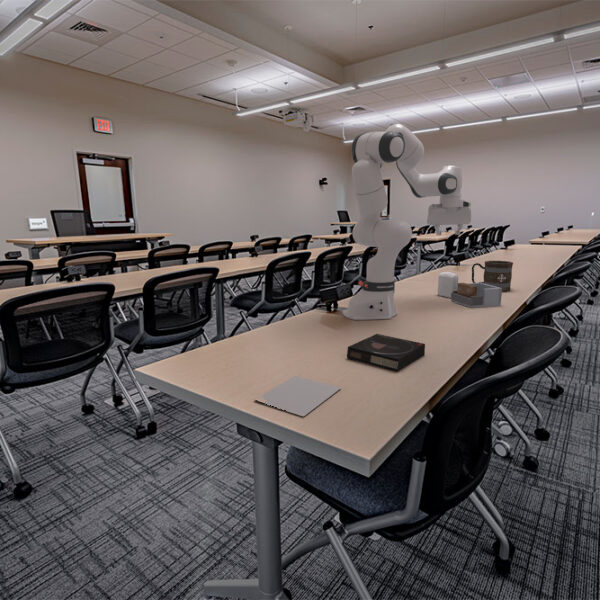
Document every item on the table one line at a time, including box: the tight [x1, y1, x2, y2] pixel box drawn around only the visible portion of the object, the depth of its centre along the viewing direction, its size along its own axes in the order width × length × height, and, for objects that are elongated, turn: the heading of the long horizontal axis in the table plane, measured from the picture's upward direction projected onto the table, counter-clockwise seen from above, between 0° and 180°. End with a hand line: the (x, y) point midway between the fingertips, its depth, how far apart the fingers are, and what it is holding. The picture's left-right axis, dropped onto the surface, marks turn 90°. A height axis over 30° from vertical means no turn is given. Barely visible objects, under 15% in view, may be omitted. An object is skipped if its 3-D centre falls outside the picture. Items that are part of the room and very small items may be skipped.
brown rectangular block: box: [457, 282, 477, 298], centre depth 183 cm, size 3×10×8 cm, turn 13°
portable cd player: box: [346, 333, 426, 373], centre depth 120 cm, size 16×17×4 cm
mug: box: [471, 260, 514, 294], centre depth 214 cm, size 20×14×15 cm
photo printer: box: [437, 271, 459, 299], centre depth 199 cm, size 10×4×12 cm, turn 28°
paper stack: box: [259, 375, 342, 417], centre depth 102 cm, size 23×25×1 cm
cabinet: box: [450, 282, 503, 309], centre depth 184 cm, size 15×15×8 cm
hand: (448, 235), depth 183 cm, fingers open, 8 cm apart
